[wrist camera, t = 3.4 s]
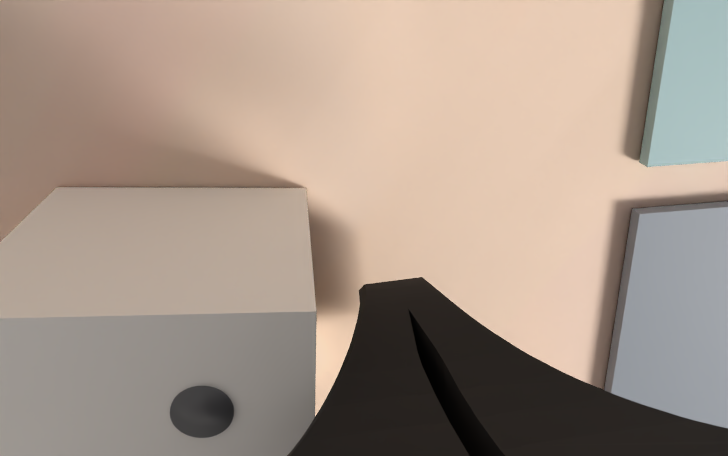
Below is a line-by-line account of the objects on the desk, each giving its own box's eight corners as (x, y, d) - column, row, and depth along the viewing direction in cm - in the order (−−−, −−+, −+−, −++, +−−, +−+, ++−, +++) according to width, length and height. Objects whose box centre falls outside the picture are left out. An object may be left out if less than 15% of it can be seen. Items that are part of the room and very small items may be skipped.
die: (306, 188, 12) (316, 313, 7) (305, 381, 13) (313, 569, 9) (57, 187, 11) (-84, 322, 7) (90, 389, 13) (-6, 594, 9)
